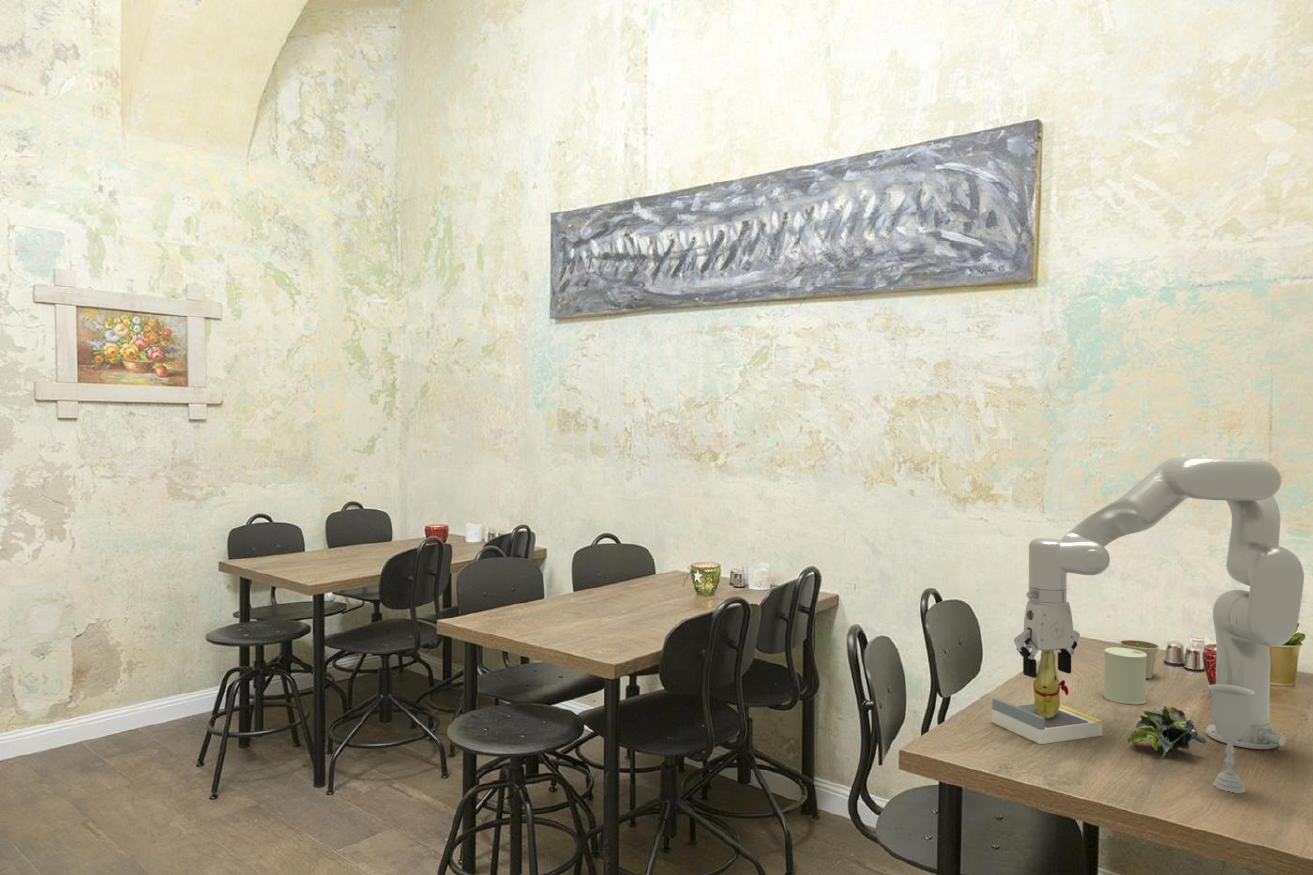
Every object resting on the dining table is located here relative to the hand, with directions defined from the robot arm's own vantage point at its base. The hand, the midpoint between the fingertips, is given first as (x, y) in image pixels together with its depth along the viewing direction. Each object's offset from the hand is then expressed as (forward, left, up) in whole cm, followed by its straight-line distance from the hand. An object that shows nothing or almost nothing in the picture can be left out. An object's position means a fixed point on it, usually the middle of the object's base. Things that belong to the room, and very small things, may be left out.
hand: (1047, 674), depth 187 cm
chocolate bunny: (0, -1, -9) cm, 9 cm away
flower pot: (+25, -57, -12) cm, 63 cm away
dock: (0, 0, -12) cm, 12 cm away
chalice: (-35, -9, -12) cm, 38 cm away
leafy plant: (-19, -13, -12) cm, 26 cm away
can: (+11, -36, -12) cm, 39 cm away
